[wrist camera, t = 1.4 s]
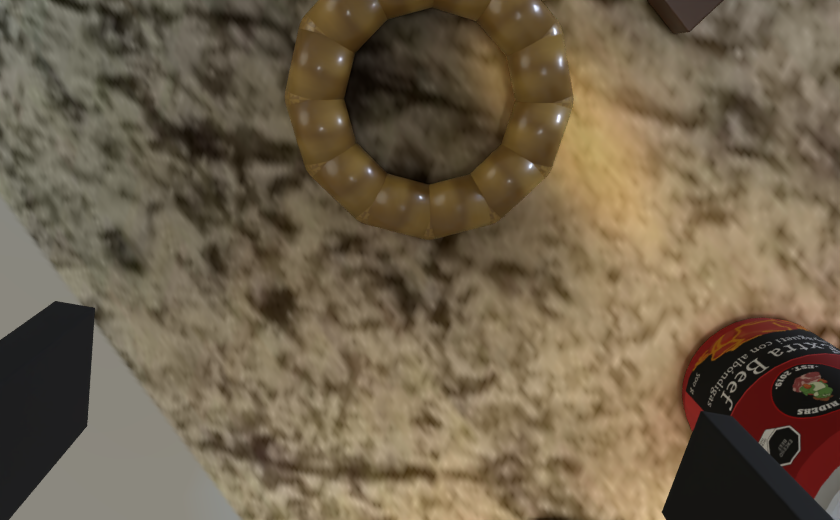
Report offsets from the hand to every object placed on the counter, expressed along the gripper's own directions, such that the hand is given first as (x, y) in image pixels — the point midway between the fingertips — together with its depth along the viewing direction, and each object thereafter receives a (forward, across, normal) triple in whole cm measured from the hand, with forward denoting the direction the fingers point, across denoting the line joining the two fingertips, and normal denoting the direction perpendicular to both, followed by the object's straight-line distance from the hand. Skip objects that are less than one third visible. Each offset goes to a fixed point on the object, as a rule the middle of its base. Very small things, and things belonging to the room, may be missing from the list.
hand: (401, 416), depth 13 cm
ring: (+15, 0, +6) cm, 16 cm away
